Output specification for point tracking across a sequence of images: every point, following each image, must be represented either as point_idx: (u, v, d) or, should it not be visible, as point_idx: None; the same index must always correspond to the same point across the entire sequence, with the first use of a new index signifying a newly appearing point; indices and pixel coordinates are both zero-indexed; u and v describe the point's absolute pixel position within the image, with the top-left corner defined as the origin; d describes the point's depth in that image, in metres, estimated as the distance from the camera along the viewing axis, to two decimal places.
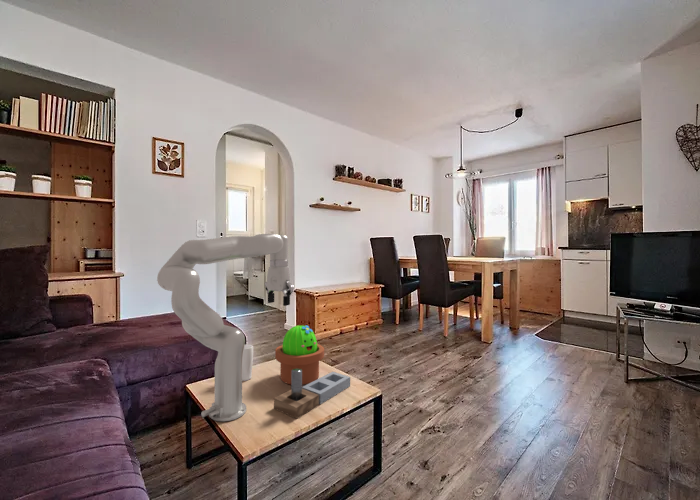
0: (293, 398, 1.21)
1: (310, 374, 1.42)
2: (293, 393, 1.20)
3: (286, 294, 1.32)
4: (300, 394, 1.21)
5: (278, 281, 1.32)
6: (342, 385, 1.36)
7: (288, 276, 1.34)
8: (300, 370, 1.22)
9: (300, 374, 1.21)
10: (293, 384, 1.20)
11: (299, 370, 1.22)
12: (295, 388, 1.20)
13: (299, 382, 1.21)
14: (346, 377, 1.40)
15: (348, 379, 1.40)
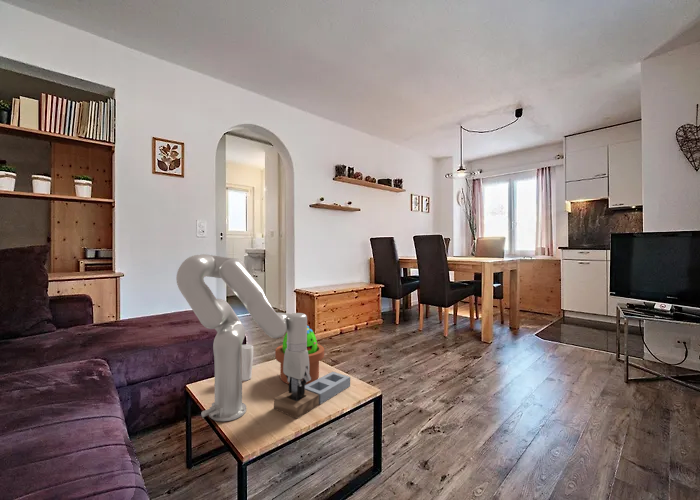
0: (293, 398, 1.21)
1: (310, 374, 1.42)
2: (293, 393, 1.20)
3: (301, 385, 1.19)
4: None
5: (297, 368, 1.18)
6: (342, 385, 1.36)
7: (307, 361, 1.20)
8: None
9: None
10: (293, 384, 1.20)
11: None
12: (296, 388, 1.20)
13: None
14: (346, 377, 1.40)
15: (348, 379, 1.40)
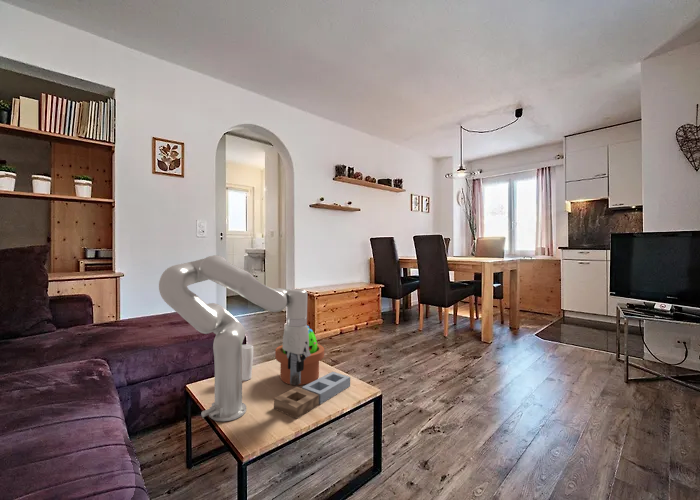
0: (292, 373, 1.20)
1: (310, 374, 1.42)
2: (292, 369, 1.20)
3: (300, 360, 1.19)
4: None
5: (296, 343, 1.18)
6: (342, 385, 1.36)
7: (307, 337, 1.20)
8: None
9: None
10: (292, 359, 1.20)
11: None
12: (295, 364, 1.20)
13: None
14: (346, 377, 1.40)
15: (348, 379, 1.40)
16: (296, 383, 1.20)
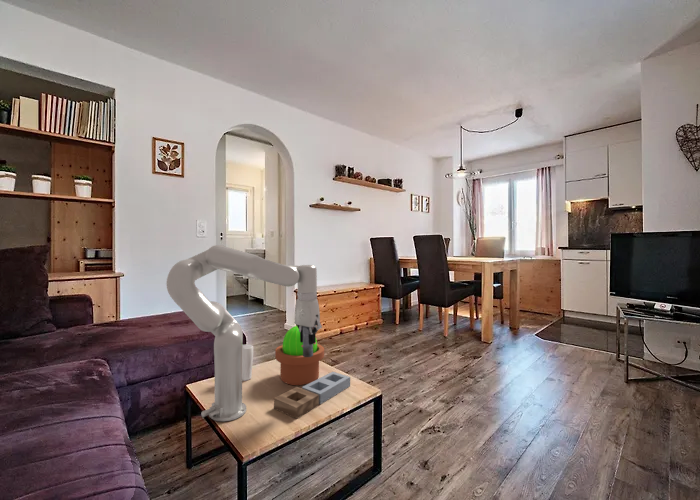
0: (304, 346, 1.24)
1: (310, 374, 1.42)
2: (304, 341, 1.24)
3: (312, 333, 1.23)
4: None
5: (307, 316, 1.22)
6: (342, 385, 1.36)
7: (318, 310, 1.24)
8: None
9: None
10: (304, 333, 1.24)
11: None
12: (307, 336, 1.24)
13: None
14: (346, 377, 1.40)
15: (348, 379, 1.40)
16: (309, 355, 1.24)
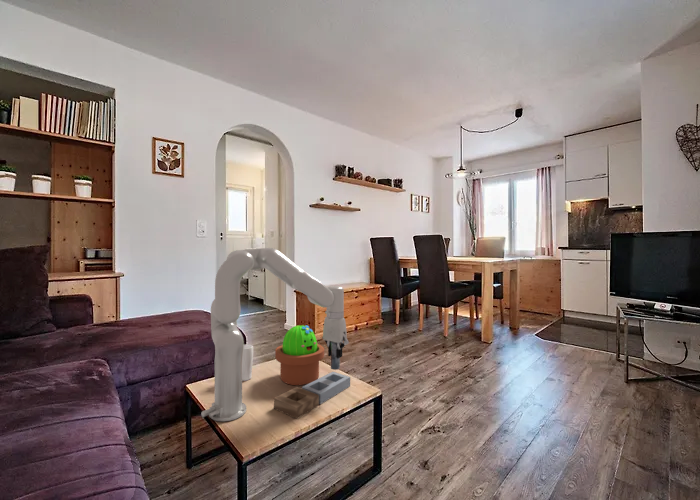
0: (332, 359, 1.38)
1: (310, 374, 1.42)
2: (332, 355, 1.38)
3: (340, 348, 1.36)
4: None
5: (336, 333, 1.35)
6: (342, 385, 1.36)
7: (345, 327, 1.37)
8: None
9: None
10: (332, 347, 1.38)
11: None
12: (335, 351, 1.37)
13: None
14: (346, 377, 1.40)
15: (348, 379, 1.40)
16: (336, 368, 1.38)
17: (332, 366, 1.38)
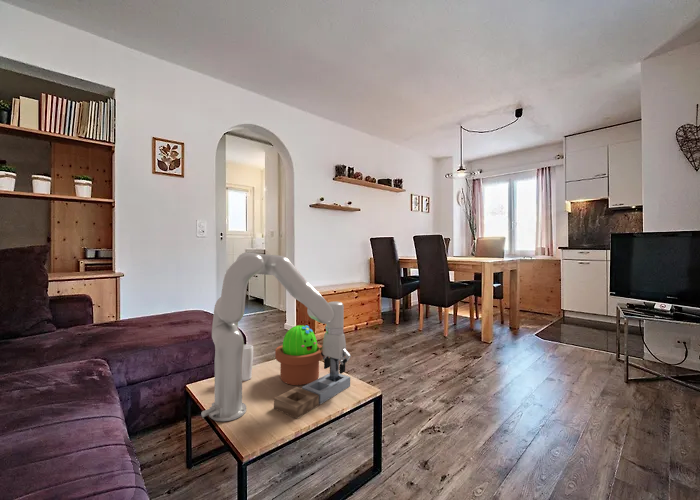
0: (331, 379, 1.38)
1: (310, 374, 1.42)
2: (331, 375, 1.38)
3: (342, 363, 1.35)
4: (337, 376, 1.38)
5: (335, 349, 1.35)
6: (342, 385, 1.36)
7: (344, 343, 1.37)
8: None
9: None
10: (331, 367, 1.38)
11: None
12: (334, 370, 1.37)
13: (337, 365, 1.38)
14: (346, 377, 1.40)
15: (348, 379, 1.40)
16: None
17: None
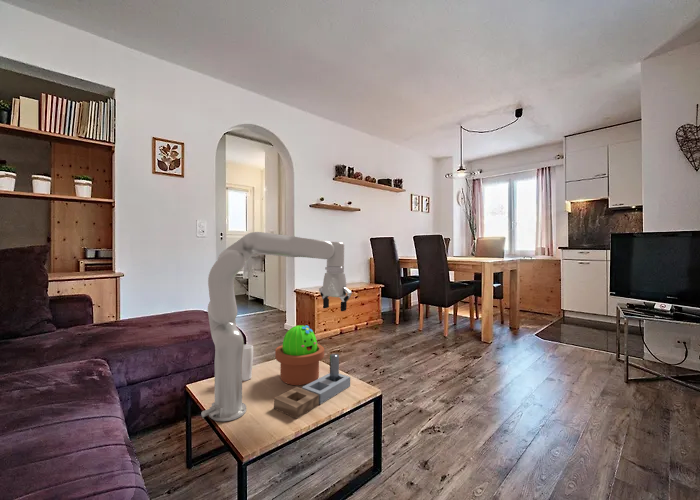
0: (331, 379, 1.38)
1: (310, 374, 1.42)
2: (332, 375, 1.38)
3: (344, 300, 1.34)
4: (337, 376, 1.38)
5: (336, 287, 1.35)
6: (342, 385, 1.36)
7: (345, 282, 1.37)
8: (337, 355, 1.39)
9: (337, 358, 1.38)
10: (332, 367, 1.38)
11: (336, 355, 1.39)
12: (334, 370, 1.37)
13: (337, 365, 1.38)
14: (346, 377, 1.40)
15: (348, 379, 1.40)
16: None
17: None
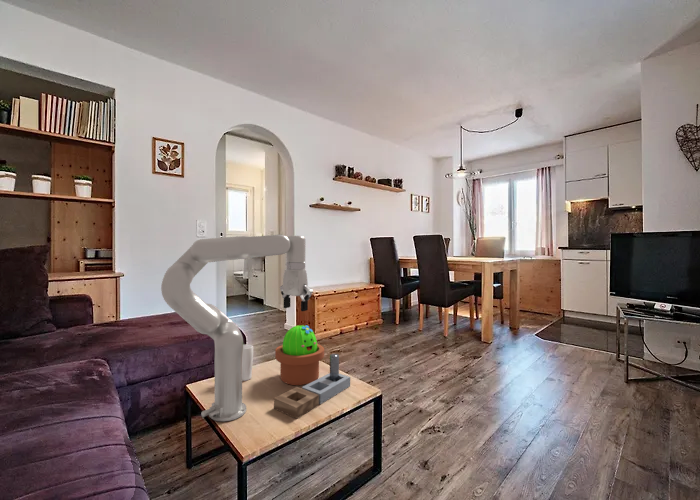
0: (331, 379, 1.38)
1: (310, 374, 1.42)
2: (332, 375, 1.38)
3: (304, 299, 1.23)
4: (337, 376, 1.38)
5: (295, 285, 1.24)
6: (342, 385, 1.36)
7: (306, 280, 1.26)
8: (337, 355, 1.40)
9: (337, 358, 1.38)
10: (332, 367, 1.38)
11: (336, 355, 1.39)
12: (334, 370, 1.37)
13: (337, 365, 1.38)
14: (346, 377, 1.40)
15: (348, 379, 1.40)
16: None
17: None
